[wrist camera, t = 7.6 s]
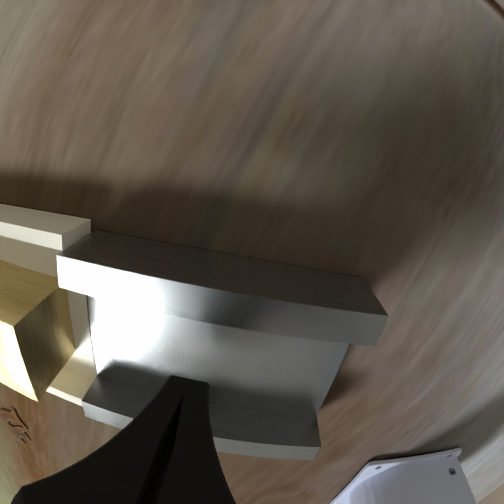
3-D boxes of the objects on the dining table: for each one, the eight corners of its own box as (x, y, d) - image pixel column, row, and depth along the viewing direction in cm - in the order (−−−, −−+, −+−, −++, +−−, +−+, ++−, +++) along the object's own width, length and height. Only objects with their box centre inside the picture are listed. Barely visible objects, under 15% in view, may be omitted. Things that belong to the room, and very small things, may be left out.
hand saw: (119, 517, 25) (118, 521, 25) (91, 509, 26) (90, 513, 25) (18, 405, 17) (14, 410, 17) (-10, 394, 18) (-14, 398, 17)
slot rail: (363, 277, 12) (388, 315, 9) (307, 415, 15) (312, 459, 12) (96, 229, 11) (56, 255, 9) (107, 378, 14) (86, 416, 11)
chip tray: (90, 219, 11) (61, 235, 9) (103, 381, 14) (88, 408, 12) (-45, 196, 11) (-71, 205, 9) (-23, 326, 14) (-41, 342, 12)
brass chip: (66, 280, 12) (12, 326, 8) (76, 349, 13) (38, 402, 9) (8, 262, 12) (-45, 297, 8) (20, 328, 13) (-20, 369, 9)
